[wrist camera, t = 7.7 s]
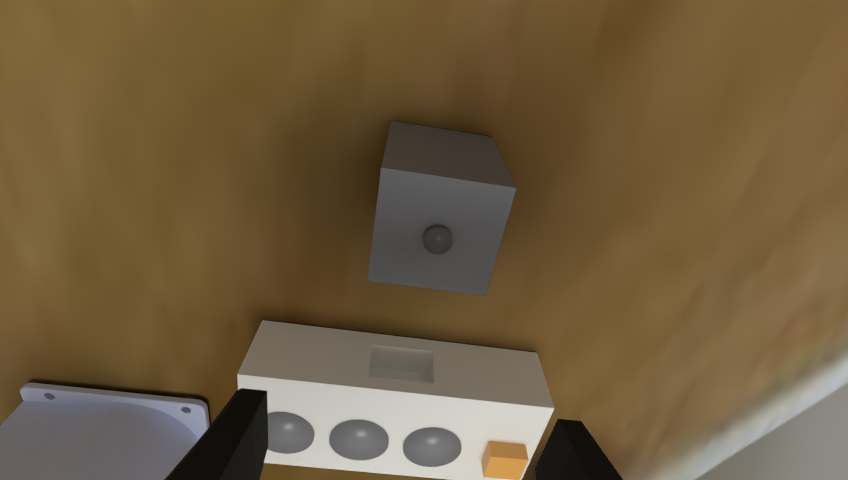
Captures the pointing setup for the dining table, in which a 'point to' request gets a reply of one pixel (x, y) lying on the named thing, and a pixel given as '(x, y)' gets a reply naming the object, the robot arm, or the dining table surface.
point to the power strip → (396, 403)
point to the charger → (439, 209)
